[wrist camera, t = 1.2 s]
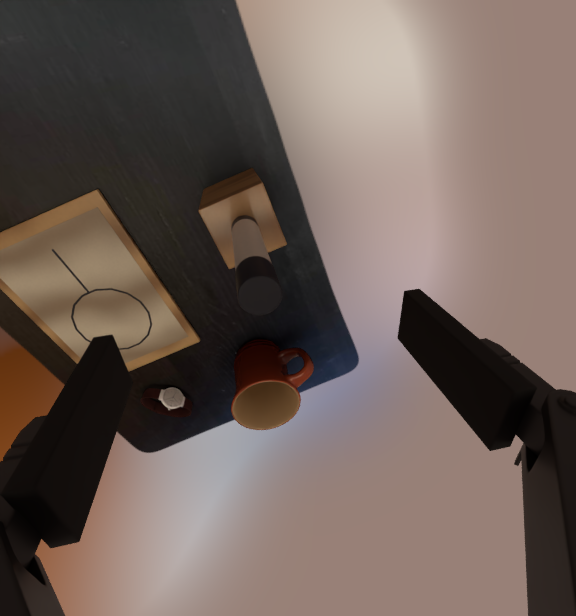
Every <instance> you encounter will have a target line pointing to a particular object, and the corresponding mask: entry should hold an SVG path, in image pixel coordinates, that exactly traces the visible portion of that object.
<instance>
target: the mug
mask: <svg viewBox="0 0 576 616" xmlns="http://www.w3.org/2000/svg"><path fill="white" fill-rule="evenodd" d="M294 357H302V358H303V360H304V367H303V368H302V369H301V370H300V371H299V372H297V373H295V374H291V375H288V370H287V366H286V365H287V363H288V362H289V361H290V360H291V359H292V358H294ZM313 370H314V365H313V362H312V359H311V358H310V356H309V355H308V354H307V353H306V352H305V351H304V350H303V349H301V348H289V349H284V350H280V349H279V347H278V346H277V345H276V344H275V343H273V342H272V341H269V340H264V339H258V340H253V341H250V342H248V343H246V344H244V345H243V346H242V347H241V348H240V349H239V350H238V352H237V354H236V358H235V363H234V371H235V382H236V393H235V396H234V398H233V401H232V405H231V412H232V415H233V417H234V419H235V420H236V421H237V422H238V423H239V424H240V425H242V426H244V427H246V428H249V429H255V430H266V429H272V428H276V427H279V426H281V425H283V424H285V423H286V422H288V421H289V420H290V419H292V418H293V417H294V415H295V414H296V412H297V411H298V409H299V407H300V401H301V399H300V394H299V392H298V390H297V388H298V387H299V386H300V385H301V384H302V383H303V382H304V381H306V380H307V379H308V378H309V377H310V376H311V374H312V373H313Z"/></svg>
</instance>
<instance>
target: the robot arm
mask: <svg viewBox="0 0 576 616" xmlns="http://www.w3.org/2000/svg"><path fill="white" fill-rule="evenodd" d="M398 339H399V341H400V342H401V343H402V344H403V345H404V347H405V348H406V349H407V350H408V352H409V353H410V354H411V355H412V356H413V358H414V359H415V360H416V361H417V363H418V364H419V365H420V366H421V367H422V368H423V370H424V371H425V372H426V373H427V375H428V376H429V377H430V378H431V380H432V381H433V382H434V383H435V384H436V386H437V387H438V388H439V389H440V391H442V393H443V394H444V395H445V396H446V398H447V399H448V400H449V402H450V403H451V404H452V405H453V406H454V408H455V409H456V410H457V411H458V412H459V414H460V415H461V416H462V417H463V419H464V420H465V421H466V422H467V424H468V425H469V426H470V427H471V428H472V429H473V431H474V432H475V433H476V434H477V436H478V437H479V438H480V439H481V441H483V443H484V444H485V445H486V447H487V448H488V449H489V450H490V451H491V450H496V449H501V448H505V447H510V446H511V444H512V441H513V439H514V437H515V435H517V436H518V437H519V438H520V439H521V440H522V441H523V442H524V443H523V445H522V448H521V450H520V452H519V454H518V456H517V458H516V460H515V463H514V464H515V465H517V466H518V465H519V463H520V461H521V460H522V481H523V505H524V528H525V548H526V549H525V551H526V572H527V597H528V616H576V393H575V392H572V391H567V390H561V389H560V390H556V389H554V388H553V387H552V386H551V385H549V384H548V383H547V382H546V381H544V380H543V379H542V378H541V377H539V376H538V375H537V374H536V373H534V372H533V371H532V370H531V369H529V368H528V367H527V366H525V365H524V364H523V363H520V361H519V360H518V359H517V358H515V357H514V356H511V354H510V353H509V352H508V351H507V350H505V349H504V348H503V347H502V346H500V345H499V344H497V343H494V342H492V341H490V340H488V339H486V338H485V339H479V338H477V337H476V336H475V335H474V334H473V333H471V332H470V331H469V330H468V329H466V328H465V327H464V326H463V325H462V324H461V323H459V322H458V321H457V320H456V319H455V318H454V317H452V316H451V315H450V314H449V313H447V312H446V311H445V310H444V309H443V308H442V307H440V306H439V305H438V304H437V303H436V302H434V301H433V300H432V299H431V298H430V297H428V296H427V295H426V294H425V293H424V292H422V291H421V290H420V289H415V290H408V291H404V297H403V304H402V311H401V318H400V325H399V332H398ZM132 384H133V381H132V379H131V376H130V374H129V372H128V369H127V367H126V365H125V362H124V360H123V358H122V355H121V353H120V351H119V348H118V346H117V343H116V341H115V339H114V336H113V334H112V335H105V336H99V337H93V339H92V341H91V342H90V344H89V346H88V347H87V349H86V351H85V352H84V354H83V356H82V357H81V359H80V361H79V362H78V364H77V366H76V368H75V369H74V371H73V373H72V374H71V376H70V378H69V379H68V381H67V383H66V384H65V386H64V388H63V389H62V391H61V393H60V394H59V396H58V398H57V400H56V401H55V403H54V405H53V406H52V408H51V410H50V412H49V413H48V415H47V416H41V417H35V418H34V419H33V420H32V421H31V422H30V423H29V424H28V425H27V426H26V427H25V428H23V429H22V430H21V431H20V433H19V434H18V436H17V437H16V439H15V440H14V442H13V444H12V445H11V449H9V450H8V451H7V453H6V454H5V456H4V457H3V461H1V462H0V616H65V614H64V612H63V610H62V608H61V605H60V603H59V601H58V599H57V596H56V594H55V592H54V590H53V588H52V586H51V583H50V582H49V579H48V576H47V574H46V572H45V570H44V568H43V565H42V563H41V561H40V559H39V558H38V557H37V556H36V555H35V552H36V550H37V547H38V545H39V543H40V540H41V538H42V539H43V541H44V542H46V544H47V545H48V546H49V547H50V548H54V547H58V546H62V545H68V544H72V543H76V542H79V541H80V538H81V535H82V532H83V529H84V526H85V523H86V520H87V517H88V514H89V511H90V508H91V506H92V503H93V500H94V497H95V494H96V491H97V488H98V485H99V482H100V479H101V476H102V473H103V470H104V467H105V464H106V461H107V458H108V455H109V452H110V449H111V446H112V443H113V440H114V437H115V435H116V432H117V429H118V426H119V423H120V420H121V417H122V414H123V411H124V408H125V405H126V402H127V399H128V396H129V393H130V390H131V387H132Z"/></svg>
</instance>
